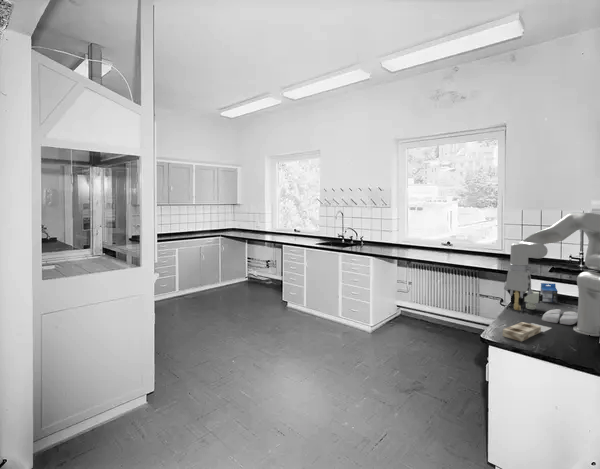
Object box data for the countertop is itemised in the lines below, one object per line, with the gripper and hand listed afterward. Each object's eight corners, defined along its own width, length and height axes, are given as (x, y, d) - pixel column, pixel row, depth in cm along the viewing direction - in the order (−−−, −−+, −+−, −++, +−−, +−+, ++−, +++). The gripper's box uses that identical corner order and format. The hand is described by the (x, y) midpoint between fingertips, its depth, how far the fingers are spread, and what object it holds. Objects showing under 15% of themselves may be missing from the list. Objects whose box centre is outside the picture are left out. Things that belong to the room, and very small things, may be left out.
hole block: (540, 333, 185) (540, 326, 184) (521, 341, 174) (521, 334, 173) (522, 328, 192) (522, 321, 192) (502, 336, 181) (502, 329, 181)
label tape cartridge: (541, 302, 243) (542, 284, 242) (539, 300, 247) (540, 283, 246) (557, 303, 240) (557, 284, 239) (554, 301, 244) (555, 283, 243)
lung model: (539, 321, 204) (546, 315, 222) (577, 328, 192) (582, 321, 210) (540, 309, 203) (547, 304, 222) (578, 316, 192) (582, 310, 210)
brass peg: (521, 309, 178) (522, 289, 178) (518, 310, 177) (519, 290, 176) (515, 308, 181) (516, 288, 180) (512, 309, 179) (513, 289, 178)
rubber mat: (552, 328, 191) (552, 328, 191) (543, 332, 185) (543, 331, 185) (531, 323, 199) (531, 323, 199) (522, 327, 194) (522, 326, 194)
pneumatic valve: (542, 311, 222) (542, 292, 221) (520, 308, 229) (520, 289, 228) (542, 309, 227) (542, 290, 226) (520, 306, 233) (521, 288, 232)
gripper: (540, 269, 172) (538, 307, 174) (505, 265, 186) (504, 299, 188) (533, 271, 168) (531, 309, 170) (498, 266, 182) (496, 302, 183)
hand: (517, 304), depth 179 cm, fingers closed on brass peg, 3 cm apart
